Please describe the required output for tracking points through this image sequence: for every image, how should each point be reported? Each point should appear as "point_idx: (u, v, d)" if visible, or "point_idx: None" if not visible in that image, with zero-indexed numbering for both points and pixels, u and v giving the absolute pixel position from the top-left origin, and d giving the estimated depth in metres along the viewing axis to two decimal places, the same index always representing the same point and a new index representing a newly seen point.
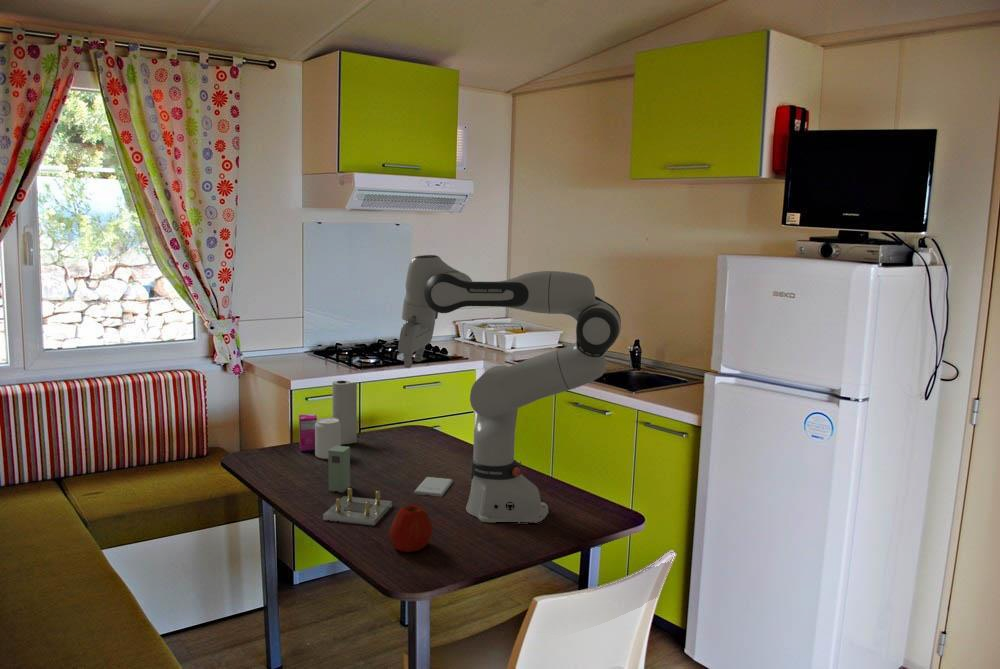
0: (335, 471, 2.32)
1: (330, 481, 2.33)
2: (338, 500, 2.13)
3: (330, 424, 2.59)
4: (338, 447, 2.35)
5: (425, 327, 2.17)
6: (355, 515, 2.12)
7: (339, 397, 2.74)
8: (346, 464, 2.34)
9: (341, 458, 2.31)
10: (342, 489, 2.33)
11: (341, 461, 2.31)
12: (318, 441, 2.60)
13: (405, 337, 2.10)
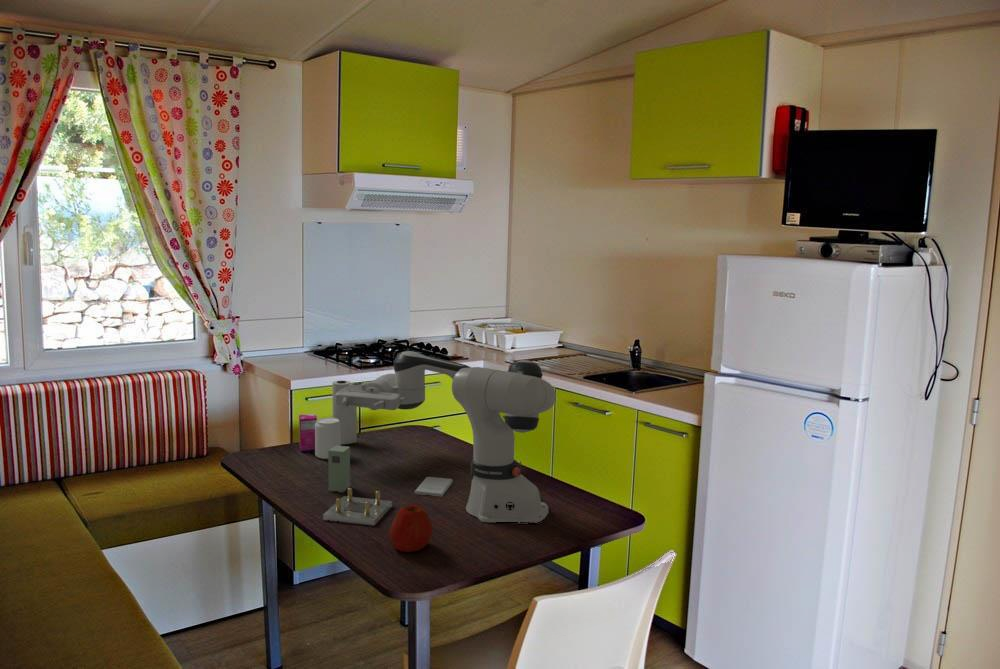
0: (335, 471, 2.32)
1: (330, 481, 2.33)
2: (338, 500, 2.13)
3: (330, 424, 2.59)
4: (338, 447, 2.35)
5: None
6: (355, 515, 2.12)
7: None
8: (346, 464, 2.34)
9: (341, 458, 2.31)
10: (342, 489, 2.33)
11: (341, 461, 2.31)
12: (318, 441, 2.60)
13: (399, 401, 2.52)
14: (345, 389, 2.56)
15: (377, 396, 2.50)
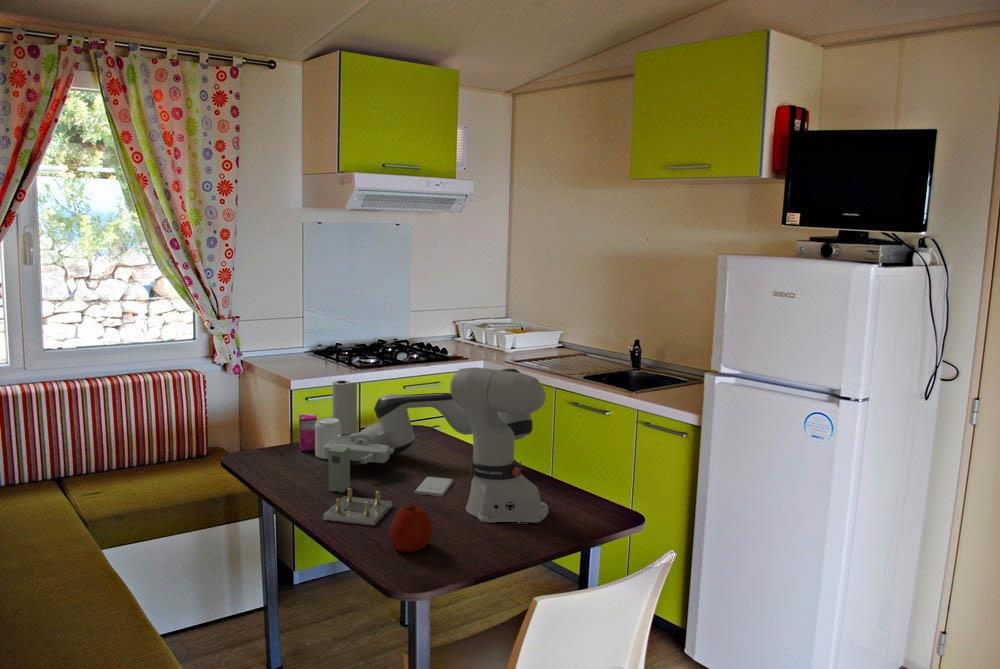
0: (335, 471, 2.32)
1: (330, 481, 2.33)
2: (338, 500, 2.13)
3: (330, 424, 2.59)
4: (338, 447, 2.35)
5: None
6: (355, 515, 2.12)
7: (339, 397, 2.74)
8: (346, 464, 2.34)
9: (341, 458, 2.31)
10: (342, 489, 2.33)
11: (341, 461, 2.31)
12: (318, 441, 2.60)
13: (389, 453, 2.49)
14: (333, 441, 2.52)
15: (366, 448, 2.47)
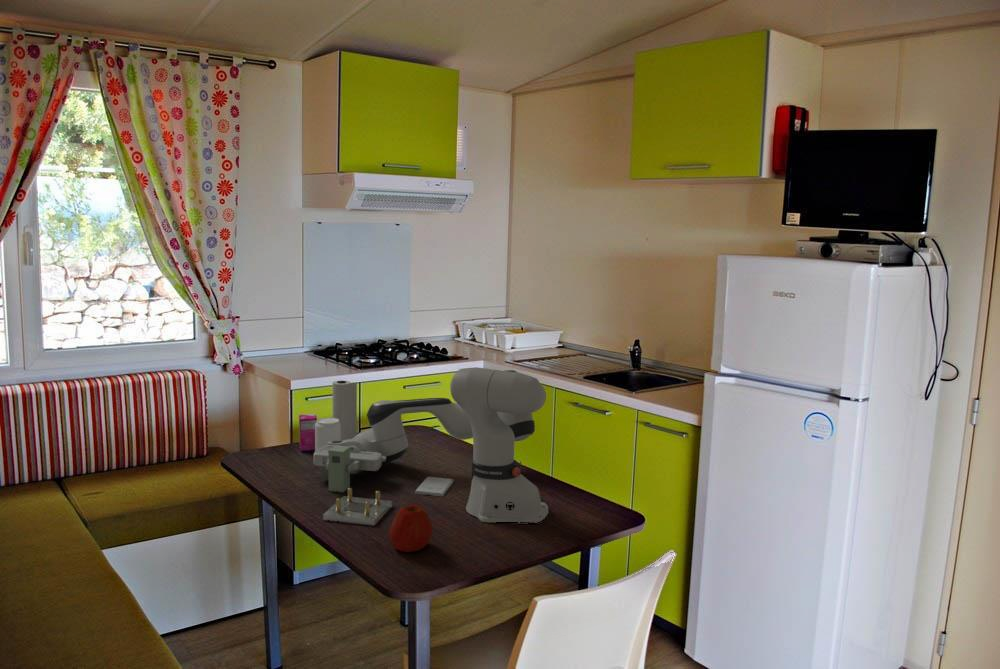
0: (335, 471, 2.32)
1: (330, 481, 2.33)
2: (338, 500, 2.13)
3: (330, 424, 2.59)
4: (338, 447, 2.35)
5: None
6: (355, 515, 2.12)
7: (339, 397, 2.74)
8: (346, 464, 2.34)
9: (341, 458, 2.31)
10: (342, 489, 2.33)
11: (341, 461, 2.31)
12: (318, 441, 2.60)
13: (381, 461, 2.40)
14: (324, 448, 2.44)
15: (357, 456, 2.38)
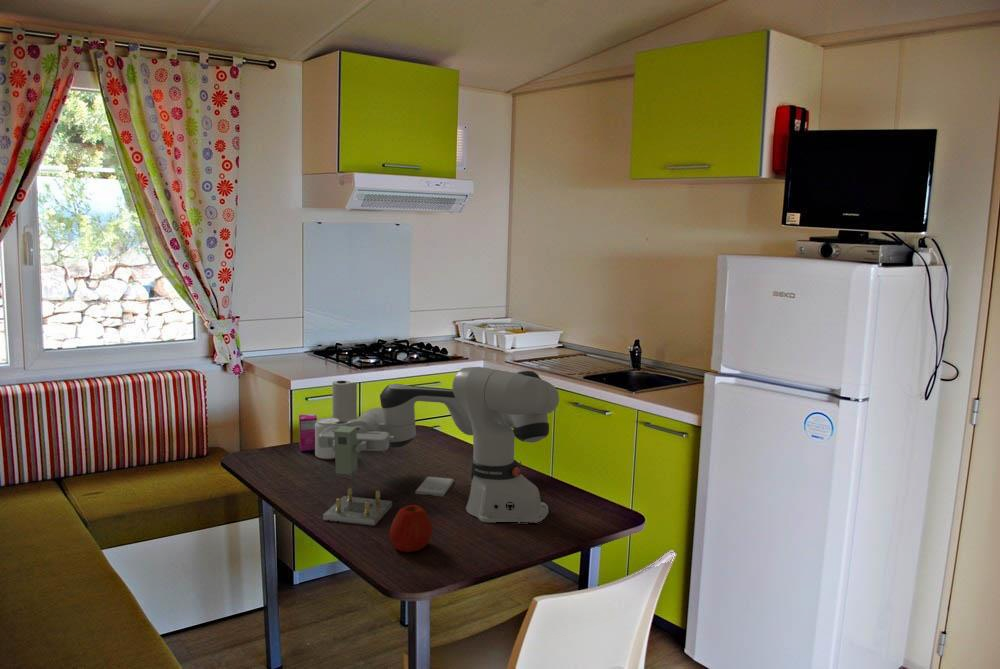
0: (342, 453, 2.22)
1: (337, 463, 2.23)
2: (338, 500, 2.13)
3: (330, 424, 2.59)
4: (344, 428, 2.24)
5: None
6: (355, 515, 2.12)
7: (339, 397, 2.74)
8: (353, 445, 2.24)
9: (348, 439, 2.21)
10: (350, 471, 2.23)
11: (348, 442, 2.21)
12: None
13: (389, 440, 2.30)
14: (328, 429, 2.34)
15: (365, 436, 2.29)
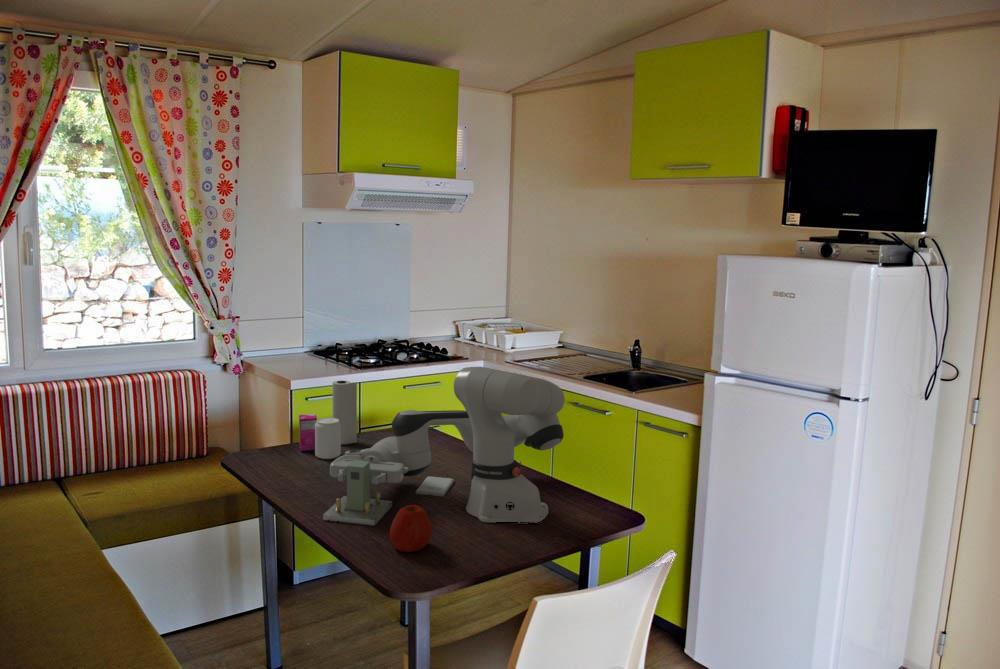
0: (354, 488, 2.14)
1: (349, 499, 2.15)
2: (338, 500, 2.13)
3: (330, 424, 2.59)
4: (357, 462, 2.17)
5: None
6: (355, 515, 2.12)
7: (339, 397, 2.74)
8: (366, 481, 2.16)
9: (361, 474, 2.13)
10: (362, 508, 2.15)
11: (361, 477, 2.13)
12: (318, 441, 2.60)
13: (403, 472, 2.22)
14: (341, 458, 2.26)
15: (378, 467, 2.20)
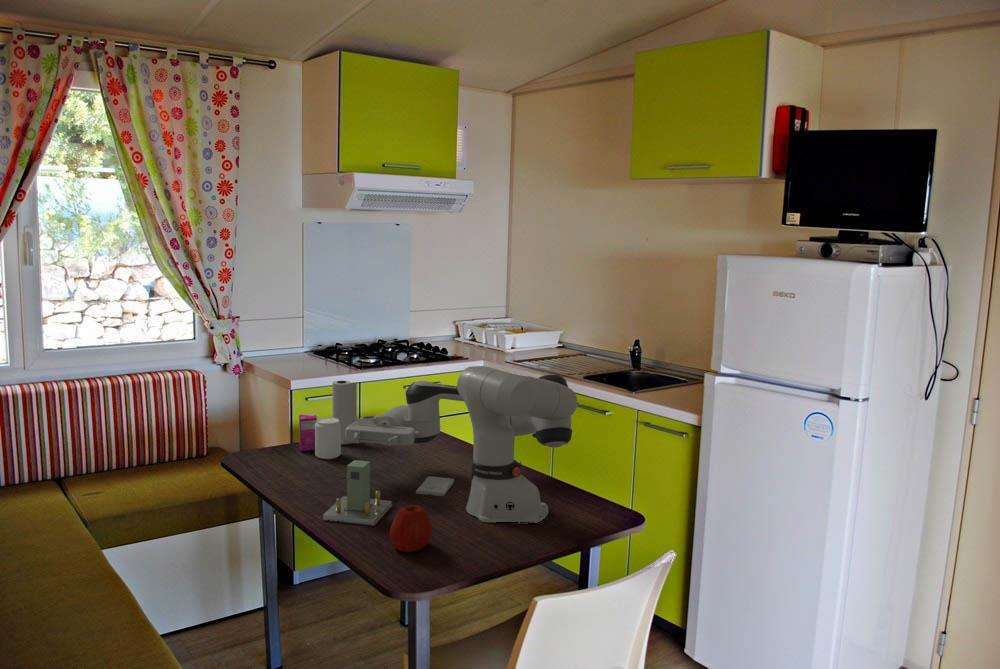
0: (354, 488, 2.14)
1: (349, 499, 2.15)
2: (338, 500, 2.13)
3: (330, 424, 2.59)
4: (357, 462, 2.17)
5: None
6: (355, 515, 2.12)
7: (339, 397, 2.74)
8: (366, 481, 2.16)
9: (361, 474, 2.13)
10: (362, 508, 2.15)
11: (361, 477, 2.13)
12: (318, 441, 2.60)
13: (414, 435, 2.36)
14: (356, 423, 2.40)
15: (391, 430, 2.34)
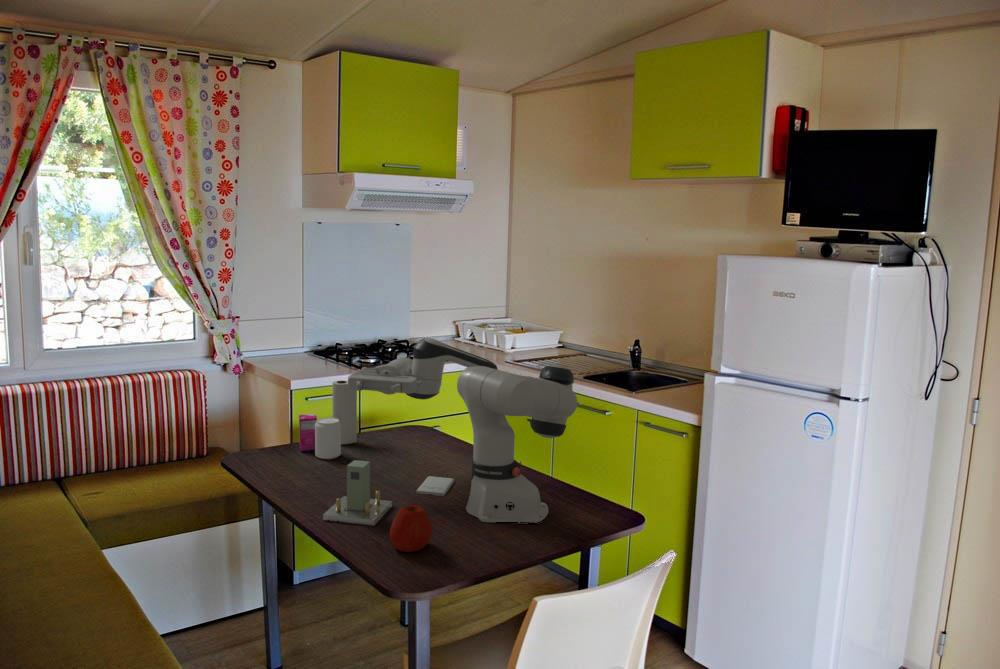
0: (354, 488, 2.14)
1: (349, 499, 2.15)
2: (338, 500, 2.13)
3: (330, 424, 2.59)
4: (357, 462, 2.17)
5: None
6: (355, 515, 2.12)
7: (339, 397, 2.74)
8: (366, 481, 2.16)
9: (361, 474, 2.13)
10: (362, 508, 2.15)
11: (361, 477, 2.13)
12: (318, 441, 2.60)
13: (416, 384, 2.37)
14: (358, 372, 2.40)
15: (393, 379, 2.35)
